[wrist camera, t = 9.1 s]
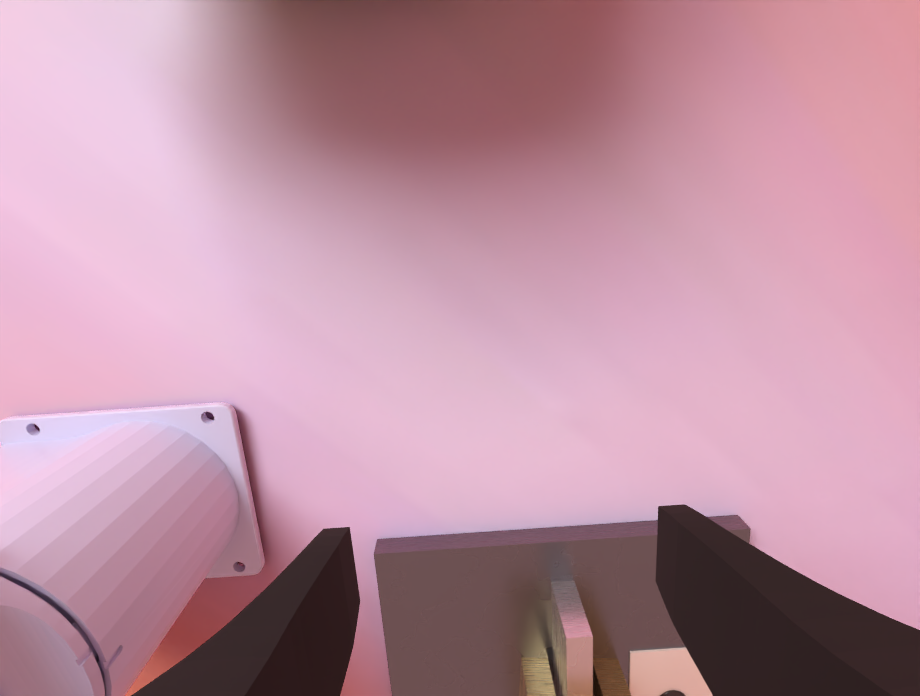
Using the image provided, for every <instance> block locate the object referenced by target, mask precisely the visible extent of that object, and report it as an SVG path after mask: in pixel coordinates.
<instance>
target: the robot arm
mask: <svg viewBox="0 0 920 696" xmlns="http://www.w3.org/2000/svg"><path fill="white" fill-rule="evenodd" d="M206 412H210V413H212V414H213V416H214V420H210V419H209V418H207V416H206ZM34 424H35V425H37V426H38V427H39V429H40V431H38V430H37V429H36V428H35V426H34ZM0 443H1V446H0V696H125V695H126V693H127V692H128V690H129V689H130V687H131V686H132V684H133V683H134V681H135V680H136V678H137V677H138V675H139V674H140V673H141V671H142V670H143V668H144V667H145V665H146V664H147V662H148V661H149V659H150V658H151V656H152V655H153V653H154V652H155V650H156V649H157V648H158V646H159V645H160V643H161V642H162V640H163V639H164V637H165V636H166V634H167V633H168V631H169V630H170V628H171V627H172V626H173V624H174V623H175V621H176V620H177V618H178V617H179V615H180V614H181V612H182V611H183V609H184V608H185V606H186V605H187V604H188V602H189V601H190V599H191V598H192V596H193V595H194V593H195V592H196V590H197V589H198V587H199V586H200V584H201V583H202V581H203V580H204V579H206V578H221V577H235V576H250V575H256V574H258V573H260V572H261V570H262V568H263V566H264V564H265V558H264V553H263V548H262V543H261V538H260V533H259V528H258V522H257V517H256V512H255V507H254V502H253V497H252V492H251V486H250V481H249V476H248V471H247V466H246V461H245V456H244V450H243V445H242V440H241V435H240V430H239V425H238V420H237V415H236V411H235V409H234V408H233V406H232V405H230V404H228V403H225V402H215V403H200V404H186V405H171V406H156V407H142V408H127V409H112V410H98V411H83V412H68V413H54V414H39V415H24V416H11V417H8V418H5V419H3V420H1V421H0ZM237 562H241V563H243V564H244V565H245V566H240V565H239V564H238V563H237ZM656 584H657V586H658V589H659V591H660V594H661V596H662V599H663V601H664V604H665V606H666V609H667V611H668V613H669V616H670V618H671V620H672V623H673V625H674V627H675V629H676V630H677V632H678V634H679V636H680V638H681V640H682V641H683V643H684V645H685V647H686V649H687V650H688V652H689V654H690V656H691V658H692V659H693V661H694V663H695V665H696V666H697V668H698V670H699V672H700V674H701V675H702V677H703V679H704V681H705V682H706V684H707V686H708V688H709V690H710V691H711V693H712V695H713V696H920V630H918V629H916V628H913V627H911V626H908V625H906V624H903V623H901V622H899V621H896V620H894V619H892V618H889V617H887V616H885V615H883V614H880V613H878V612H876V611H874V610H872V609H870V608H867V607H865V606H863V605H861V604H859V603H857V602H855V601H853V600H851V599H848V598H846V597H844V596H842V595H840V594H838V593H836V592H834V591H832V590H830V589H828V588H826V587H824V586H822V585H820V584H819V583H817V582H815V581H813V580H811V579H809V578H808V577H806V576H804V575H802V574H800V573H798V572H797V571H795V570H793V569H791V568H789V567H788V566H786V565H784V564H782V563H781V562H779V561H777V560H775V559H774V558H772V557H770V556H769V555H767V554H765V553H764V552H762V551H760V550H759V549H757V548H755V547H754V546H752V545H750V544H749V543H747V542H746V541H744V540H742V539H741V538H739V537H737V536H736V535H734V534H733V533H731V532H729V531H728V530H726V529H725V528H723V527H721V526H720V525H718V524H717V523H715V522H714V521H712V520H710V519H709V518H707V517H705V516H704V515H702V514H701V513H699V512H697V511H695V510H694V509H692V508H690V507H688V506H687V505H671V506H658V530H657V555H656ZM359 605H360V597H359V590H358V583H357V576H356V569H355V562H354V555H353V548H352V541H351V533H350V527H344V528H330V529H323V530H322V531H321V532H320V533H319V534H318V535H317V536H316V537H315V538H314V539H313V540H312V541H311V542H310V544H309V545H308V546H307V547H306V548H305V549H304V550H303V551H302V552H301V553H300V554H299V555H298V556H297V557H296V558H295V559H294V560H293V561H292V563H291V564H290V565H289V566H288V567H287V568H286V569H285V570H284V571H283V572H282V573H281V574H280V575H279V576H278V577H277V578H276V579H275V580H274V581H273V582H272V583H271V584H270V585H269V586H268V587H267V588H266V589H265V590H264V591H263V592H262V593H261V594H260V595H258V596H257V597H256V598H255V599H254V600H253V601H252V602H251V603H250V604H249V605H248V606H247V607H246V608H244V609H243V610H242V611H241V612H240V613H239V614H238V615H237V616H236V617H235V618H234V619H233V620H231V621H230V622H229V623H228V624H227V625H226V626H224V627H223V628H222V629H221V630H220V631H219V632H217V633H216V634H215V635H214V636H213V637H211V638H210V639H209V640H207V641H206V642H205V643H204V644H202V645H201V646H200V647H199V648H197V649H196V650H195V651H194V652H192V653H191V654H190V655H188V656H187V657H186V658H184V659H183V660H182V661H180V662H179V663H178V664H176V665H175V666H173V667H172V668H170V669H169V670H167V671H166V672H165V673H163V674H162V675H160V676H159V677H157V678H156V679H155V680H153V681H152V682H150V683H149V684H147V685H146V686H145V687H143V688H142V689H140V690H139V691H137V692H136V693H135V694H133V695H131V696H340V693H341V690H342V686H343V682H344V679H345V675H346V671H347V667H348V664H349V660H350V656H351V652H352V649H353V644H354V638H355V632H356V626H357V619H358V612H359Z"/></svg>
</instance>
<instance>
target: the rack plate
mask: <svg viewBox="0 0 920 696" xmlns="http://www.w3.org/2000/svg"><path fill="white" fill-rule="evenodd" d="M707 518H709V519H710V520H712V521H714V522H715V523H717V524H718V525H720V526H721V527H723V528H725V529H726V530H728V531H729V532H731V533H733V534H734V535H736V536H737V537H739V538H741V539H742V540H744V541H746V542H747V543H749V539H750V528H749V527H748V526H747V525H746V523H745V522H744V521H743V520H742V519H741V518H740V517H739V516H738V515H731V516H716V517H707ZM657 530H658V520H657V521H642V522H627V523H612V524H597V525H583V526H568V527H553V528H538V529H523V530H508V531H493V532H479V533H464V534H449V535H434V536H419V537H404V538H389V539H377V543H376V547H375V551H374V559H375V566H376V574H377V582H378V590H379V597H380V605H381V613H382V621H383V628H384V636H385V644H386V652H387V660H388V667H389V675H390V683H391V691H392V696H519V686H520V672H521V658H548V661H549V666H550V671H551V675H552V680H553V685H554V689H555V694H556V696H593V658H618V661H619V664H620V666H621V669H622V672H623V674H624V677H625V680H626V682H627V685H628V688H629V690H630V693H631V696H713V695H712V693H711V691H710V690H709V688H708V686H707V684H706V682H705V681H704V679H703V677H702V675H701V674H700V672H699V670H698V668H697V666H696V665H695V663H694V661H693V659H692V658H691V656H690V654H689V652H688V650H687V649H686V647H685V645H684V643H683V641H682V640H681V638H680V636H679V634H678V632H677V630H676V629H675V627H674V625H673V623H672V620H671V618H670V616H669V613H668V611H667V609H666V606H665V604H664V601H663V599H662V596H661V594H660V591H659V589H658V586H657V584H656V555H657Z"/></svg>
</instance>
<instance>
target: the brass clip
mask: <svg viewBox="0 0 920 696" xmlns="http://www.w3.org/2000/svg"><path fill="white" fill-rule="evenodd" d="M519 696H556V694H555V689H554V685H553V680H552V675H551V671H550V666H549V661H548V658H521V672H520V686H519ZM593 696H631V693H630V690H629V688H628V685H627V682H626V680H625V677H624V674H623V672H622V669H621V666H620V664H619V661H618V658H593Z"/></svg>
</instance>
